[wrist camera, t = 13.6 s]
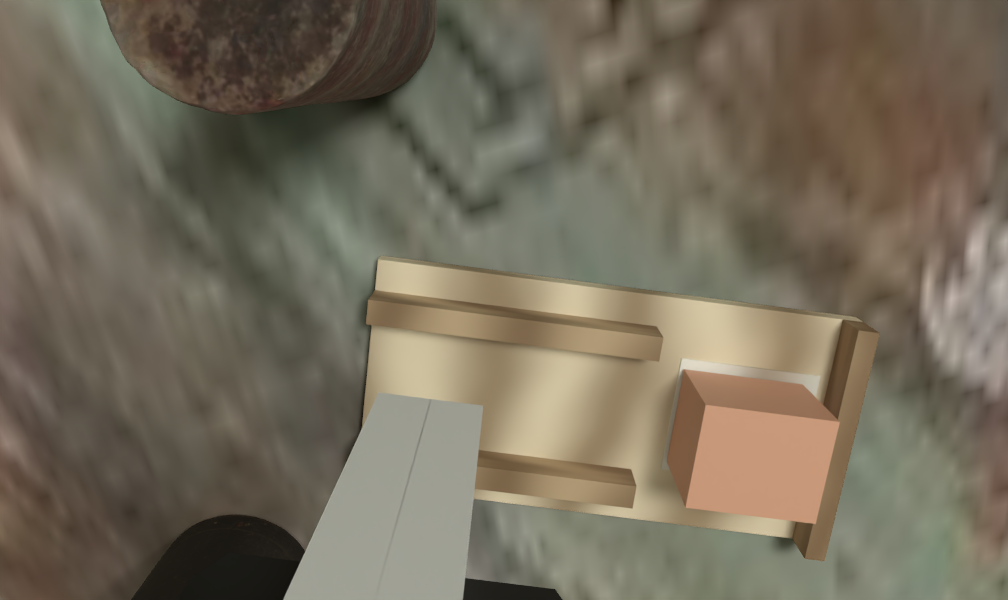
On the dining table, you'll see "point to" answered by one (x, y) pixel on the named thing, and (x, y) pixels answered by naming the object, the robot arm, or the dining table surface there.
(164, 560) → the container
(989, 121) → the dining table surface
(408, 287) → the chute
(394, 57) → the candle
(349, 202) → the dining table surface
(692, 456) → the block
